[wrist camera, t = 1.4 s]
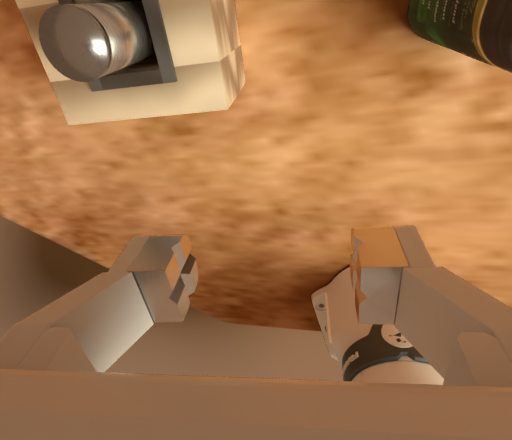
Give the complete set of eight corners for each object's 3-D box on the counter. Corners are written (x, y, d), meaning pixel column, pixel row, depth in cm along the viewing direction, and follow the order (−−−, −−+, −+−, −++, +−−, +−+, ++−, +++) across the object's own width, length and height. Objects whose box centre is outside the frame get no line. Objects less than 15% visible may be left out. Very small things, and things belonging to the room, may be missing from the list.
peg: (171, 54, 28) (116, 78, 20) (127, 59, 29) (57, 85, 21) (157, -3, 26) (90, -1, 18) (110, 5, 27) (25, 9, 19)
